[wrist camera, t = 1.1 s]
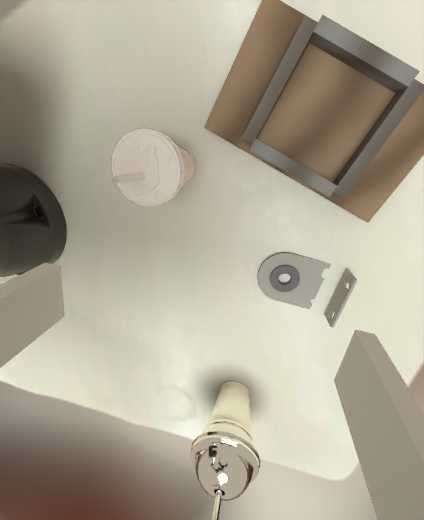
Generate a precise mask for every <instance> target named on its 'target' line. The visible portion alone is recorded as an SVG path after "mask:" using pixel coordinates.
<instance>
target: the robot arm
mask: <svg viewBox="0 0 424 520" xmlns="http://www.w3.org/2000/svg"><path fill="white" fill-rule="evenodd" d="M65 241H66V227H65V221H64V217H63V214H62V211H61V208H60V206H59V204H58V202H57V200H56V199H55V197H54V195H53V194H52V192H51V191H50V190H49V189H48V187H47V186H46V185H45V184H44V183H43V182H42V181H41V180H40V179H39V178H37V177H36V176H35V175H33V174H32V173H30V172H29V171H27V170H25V169H23V168H21V167H18V166H15V165H10V164H0V277H4V276H10V275H14V274H17V275H19V276H17V277H15V278H13V279H11V280H9V281H7V282H5V283H3V284H1V285H0V368H1V367H2V366H3V365H5V364H6V363H7V362H8V361H10V360H11V359H12V358H13V357H14V356H16V355H17V354H18V353H19V352H21V351H22V350H23V349H24V348H26V347H27V346H28V345H29V344H31V343H32V342H33V341H34V340H35V339H37V338H38V337H39V336H40V335H42V334H43V333H44V332H45V331H47V330H48V329H49V328H50V327H51V326H53V325H54V324H55V323H56V322H58V321H59V320H60V319H61V318H63V317H64V304H63V292H62V280H61V267H60V266H59V265H54V264H53V263H54V262H55V261H56V260H57V259H58V258H59V256H60V255H61V253H62V251H63V249H64V245H65ZM334 381H335V385H336V388H337V391H338V394H339V398H340V401H341V404H342V407H343V410H344V414H345V417H346V420H347V423H348V426H349V430H350V433H351V436H352V439H353V442H354V446H355V449H356V452H357V455H358V459H359V462H360V465H361V468H362V471H363V474H364V478H365V481H366V484H367V487H368V491H369V494H370V497H371V500H372V503H373V507H374V510H375V513H376V516H377V519H378V520H424V413H423V411H422V409H421V408H420V406H419V405H418V403H417V401H416V400H415V398H414V396H413V395H412V393H411V392H410V390H409V388H408V387H407V385H406V383H405V382H404V380H403V379H402V377H401V375H400V374H399V372H398V371H397V369H396V367H395V366H394V364H393V362H392V361H391V359H390V358H389V356H388V354H387V353H386V351H385V350H384V348H383V346H382V345H381V343H380V341H379V340H378V338H377V337H376V335H375V334H372V333H368V332H363V331H359V330H355V332H354V334H353V337H352V339H351V341H350V344H349V346H348V348H347V351H346V353H345V356H344V358H343V360H342V363H341V365H340V367H339V370H338V372H337V375H336V377H335V379H334Z"/></svg>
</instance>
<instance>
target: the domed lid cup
mask: <svg viewBox="0 0 424 520" xmlns="http://www.w3.org/2000/svg"><path fill="white" fill-rule="evenodd" d="M191 459H192V462H193V464H194V466H195V469H196V475H197V478H198V481H199V483H200V484H201V487H202V488H203V489H204V490H205V491H206V493H208V494H209V495H210V496H211V497H213V498H215V501H214V508H213V515H212V520H219V513H220V506H221V500H222V501H229V500H233V499H235V498H238V497H239V496H240V495H241V494H243V492H245V490H246V489H247V487H248V485H249V483H250V482H251V481H253V480H254V479H255V478H256V476H257V474H258V472H259V467H260V458H259V455H258V453H257V451H256V450H255V448H254V446H253V439H252V436H251V417H250V399H249V391H248V389H247V388H246V387H245V386H244V385H243V384H241V383H238V382H227V383H225V384H223V385H222V387H221V389H220V392H219V394H218V397H217V400H216V402H215V405H214V408H213V411H212V413H211V416H210V419H209V421H208V424H207V425H206V427H205V429H204V431H203V433H202V434H201V435H199V436H198V437H197V438H196V439H195V440H194V442H193V443H192V447H191Z"/></svg>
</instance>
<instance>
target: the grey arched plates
mask: <svg viewBox="0 0 424 520" xmlns="http://www.w3.org/2000/svg"><path fill="white" fill-rule="evenodd" d="M330 265H331V264H329V263H325V262H322V261H318V260H315V259H311V258H308V257H304V256H301V255H297V254H293V253H278V254H275V255H273V256H271V257H269V258H268V259H267V260H265V261H264V262H263V264H262V265H261V267H260V269H259V272H258V283H259V286H260V289H261V290H262V291H263V293H264V294H265V295H267V296H268V297H270V298H272V299H274V300H277V301H281V302H285V303H288V304H292V305H296V306H300V307H303V308H307V309H310V307H311V305H312V303H311V302H310V301H311V299H315V297H316V295H317V293H318V290H319V288H320V286H321V284H322V282H323V280H324V278H322V277H321V274H322V272H323V270H324V269H325V268H328V269H329V267H330ZM284 273H287V274H289V275H290V276H291V279H290V281H288V282H286V283H282V282H280V281H279V280H278V278H279V276H280V275H281V274H284ZM347 282H348V283H349V288H348V289H347V288H346V284H347ZM356 282H357V279H356V278H355V277H354V276H353V274H352V273H351V272H350V271H349V270H348V269H346V270H345V272H344V273H343V275H342V277H341V279H340V281H339V283H338V285H337V288H336V290H335V292H334V294H333V296H332V298H331V300H330V302H329V304H328V307H327V309H326V312H325V316H326V318H327V321H328V323H329V325H330V327H334V326H335V324H336V322H337V320H338V318H339V316H340V314H341V312H342V310H343V308H344V306H345V304H346V302H347V300H348V298H349V296H350V294H351V292H352V290H353V288H354V286H355V284H356ZM334 311H335V313H334ZM333 313H334V316H333V318H332V315H333Z"/></svg>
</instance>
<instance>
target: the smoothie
mask: <svg viewBox="0 0 424 520" xmlns="http://www.w3.org/2000/svg"><path fill="white" fill-rule="evenodd" d="M111 169H112V174H113V182H114V183H115V184H116V185H117V187H118V189H119V190H120V191H121V193H122V194H123V195H124V196H125V197H126V198H127V199H129V200H130V201H131V202H133V203H135V204H137V205H140V206H144V207H154V206H158V205H162V204H165V203H167V202H169V201H170V200H172V199H173V198H174V197H175V196H176V195H177V193H178V192H179V190H180V188H181V187H182V186H183V185H184V184H185V183H186V182H187V181H189V180H190V179H191V178H192V176H193V175H194V172H195V161H194V159H193V157H192V156H191V154H190V153H188V152H187V151H185V150H184V149H182V148H180V147H178V146H177V145H176V144H175V143H174V142H173V141H172V140H171V139H170V138H169V137H168V136H166V135H165V134H163V133H162V132H160V131H156V130H153V129H136V130H133V131H130V132H128V133H127V134H125V135H124V136H123V137H122V138H121V139H120V140H119V141H118V142H117V144H116V146H115V148H114V150H113V154H112V159H111Z"/></svg>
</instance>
